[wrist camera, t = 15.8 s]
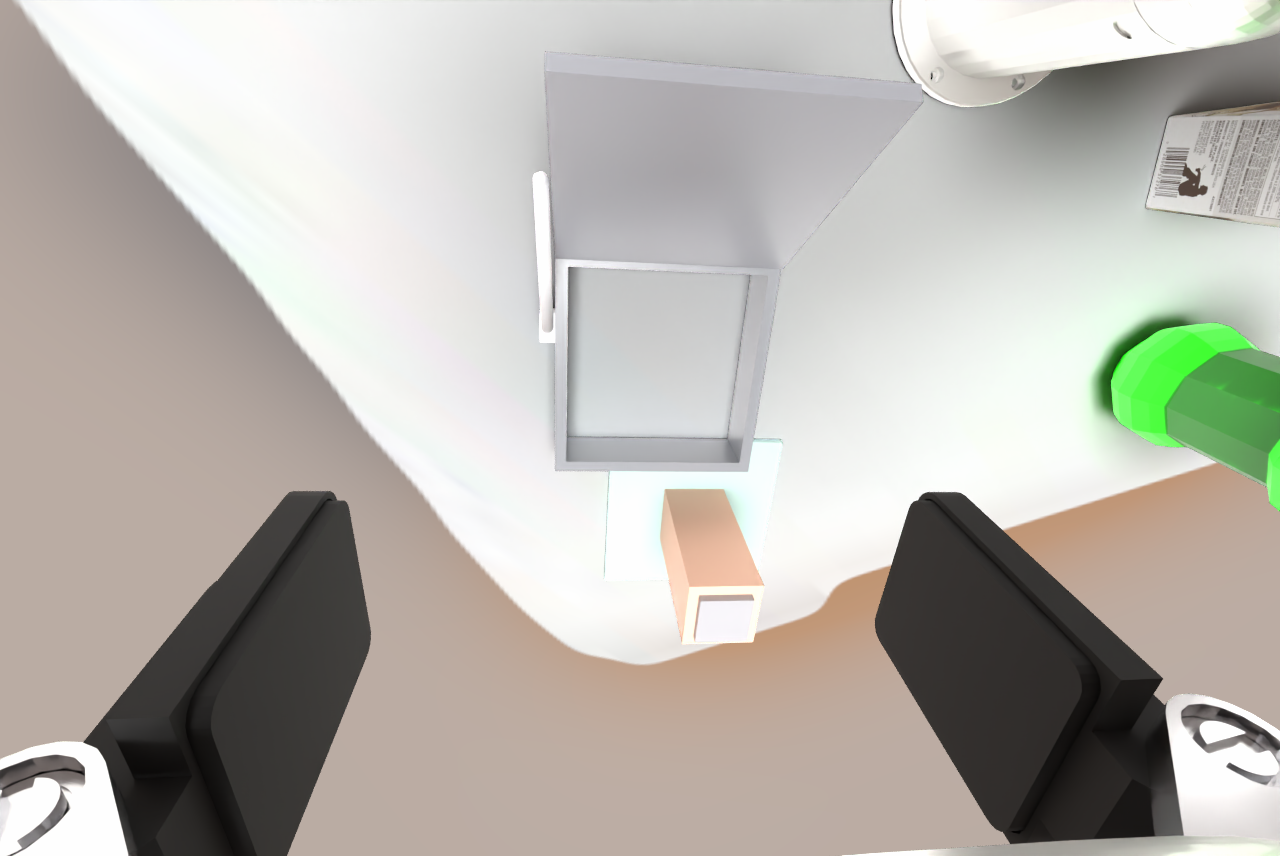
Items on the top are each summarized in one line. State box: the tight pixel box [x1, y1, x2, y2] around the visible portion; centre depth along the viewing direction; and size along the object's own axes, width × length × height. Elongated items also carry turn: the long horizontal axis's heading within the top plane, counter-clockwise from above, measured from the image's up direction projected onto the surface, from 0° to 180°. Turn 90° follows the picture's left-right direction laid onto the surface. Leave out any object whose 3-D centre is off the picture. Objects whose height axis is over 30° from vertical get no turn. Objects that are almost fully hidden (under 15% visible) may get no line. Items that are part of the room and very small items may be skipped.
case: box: [532, 51, 923, 472], centre depth 35 cm, size 16×25×17 cm, turn 177°
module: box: [660, 489, 764, 644], centre depth 45 cm, size 5×5×13 cm
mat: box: [604, 439, 783, 581], centre depth 51 cm, size 14×14×1 cm
